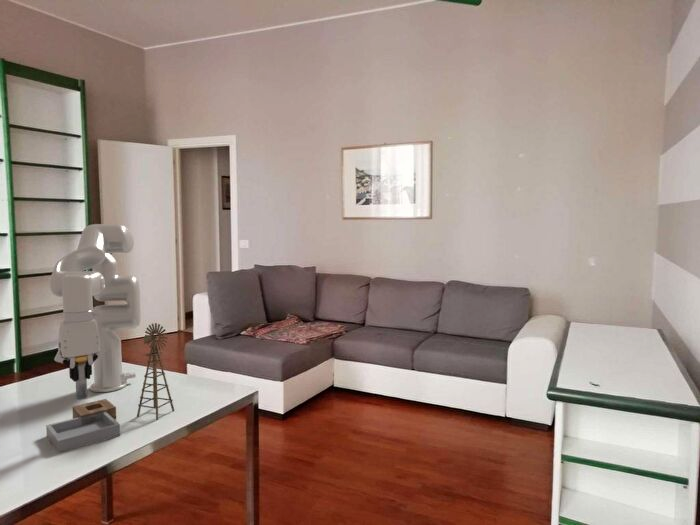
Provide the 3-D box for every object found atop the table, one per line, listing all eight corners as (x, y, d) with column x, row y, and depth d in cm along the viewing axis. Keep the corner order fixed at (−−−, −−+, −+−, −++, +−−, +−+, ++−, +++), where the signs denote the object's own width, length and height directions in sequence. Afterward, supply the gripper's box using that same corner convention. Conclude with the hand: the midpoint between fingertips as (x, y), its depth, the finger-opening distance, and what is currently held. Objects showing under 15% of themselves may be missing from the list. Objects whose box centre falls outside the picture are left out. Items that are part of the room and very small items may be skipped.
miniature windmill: (175, 410, 161) (173, 322, 158) (158, 420, 153) (155, 327, 150) (153, 407, 164) (151, 320, 161) (135, 416, 156) (132, 325, 153)
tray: (105, 421, 152) (104, 410, 152) (120, 435, 142) (119, 424, 142) (46, 436, 141) (46, 425, 141) (58, 452, 131) (57, 441, 131)
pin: (87, 394, 144) (86, 352, 143) (91, 397, 141) (90, 355, 140) (71, 397, 141) (70, 355, 140) (75, 401, 138) (74, 358, 137)
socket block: (106, 410, 161) (105, 398, 161) (116, 419, 154) (115, 407, 153) (72, 418, 154) (72, 406, 154) (81, 428, 147) (81, 415, 147)
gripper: (104, 311, 147) (106, 370, 149) (42, 318, 136) (45, 382, 137) (112, 315, 142) (114, 376, 143) (49, 322, 131) (52, 388, 132)
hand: (81, 378), depth 140 cm, fingers closed on pin, 2 cm apart
